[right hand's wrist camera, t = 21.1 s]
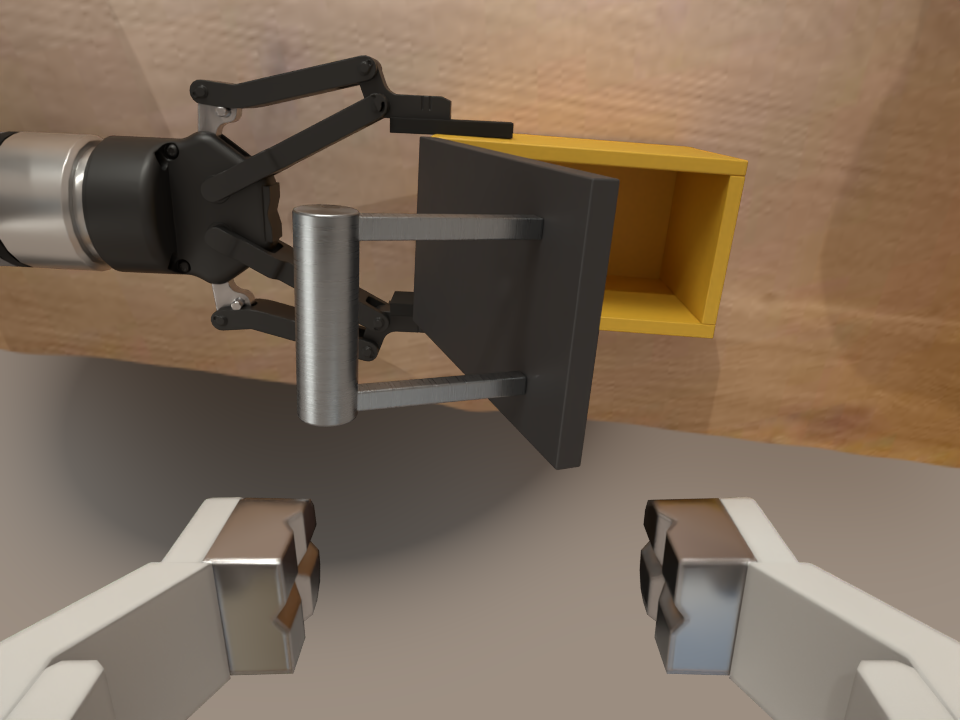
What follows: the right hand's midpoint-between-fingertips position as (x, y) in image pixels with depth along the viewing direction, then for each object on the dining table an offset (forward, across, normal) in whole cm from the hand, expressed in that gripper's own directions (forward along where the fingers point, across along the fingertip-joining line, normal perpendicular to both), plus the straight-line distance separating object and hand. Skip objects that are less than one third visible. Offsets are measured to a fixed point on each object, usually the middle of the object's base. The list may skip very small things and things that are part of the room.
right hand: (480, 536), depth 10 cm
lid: (+19, +1, 0) cm, 19 cm away
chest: (+38, +5, -1) cm, 38 cm away
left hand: (+31, +2, 0) cm, 31 cm away
